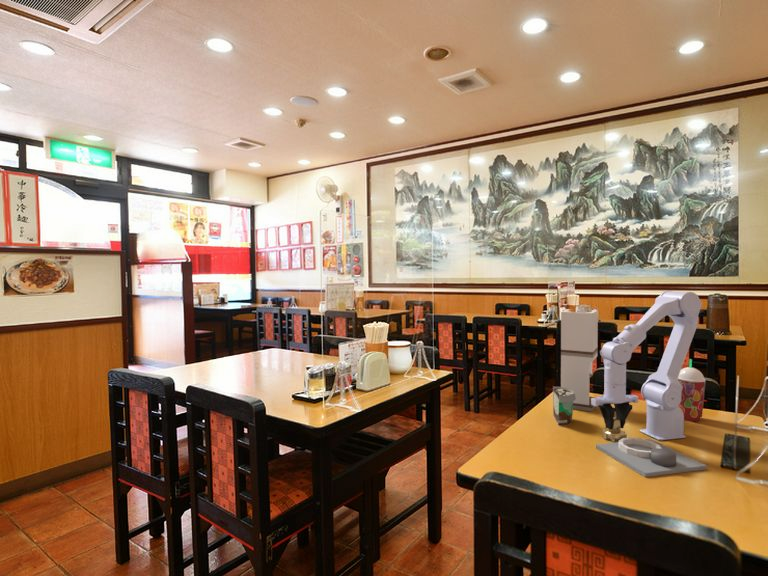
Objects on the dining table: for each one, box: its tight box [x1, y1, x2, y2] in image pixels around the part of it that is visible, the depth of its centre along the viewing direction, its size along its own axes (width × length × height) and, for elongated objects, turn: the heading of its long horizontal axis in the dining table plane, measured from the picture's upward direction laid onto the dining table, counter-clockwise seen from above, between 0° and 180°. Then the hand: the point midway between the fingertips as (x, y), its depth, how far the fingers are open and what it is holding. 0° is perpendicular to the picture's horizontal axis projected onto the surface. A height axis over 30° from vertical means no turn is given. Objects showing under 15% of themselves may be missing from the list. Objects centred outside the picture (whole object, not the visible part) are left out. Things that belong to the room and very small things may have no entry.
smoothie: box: [678, 358, 707, 422], centre depth 149 cm, size 8×8×20 cm
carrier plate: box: [595, 437, 708, 478], centre depth 120 cm, size 18×18×4 cm
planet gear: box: [601, 416, 628, 443], centre depth 134 cm, size 6×6×6 cm
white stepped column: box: [560, 308, 599, 412], centre depth 165 cm, size 11×11×35 cm
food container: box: [552, 386, 576, 426], centre depth 149 cm, size 12×6×10 cm, turn 168°
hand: (614, 427), depth 134 cm, fingers closed on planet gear, 3 cm apart
